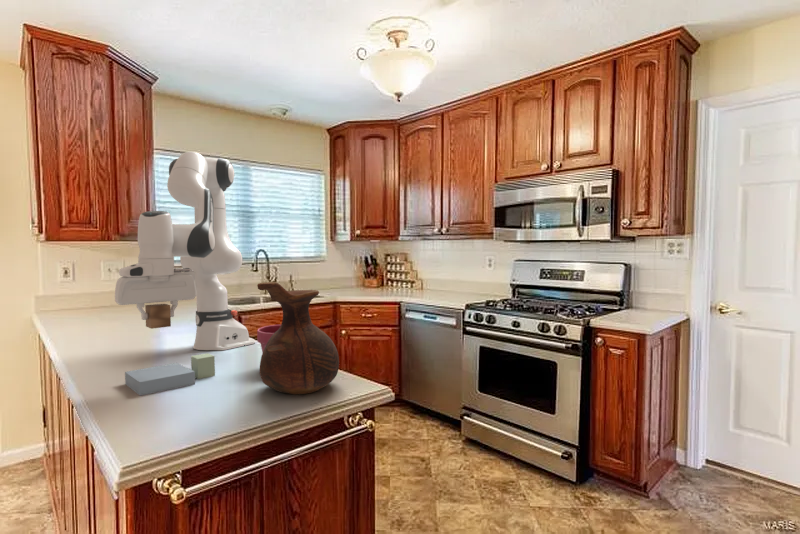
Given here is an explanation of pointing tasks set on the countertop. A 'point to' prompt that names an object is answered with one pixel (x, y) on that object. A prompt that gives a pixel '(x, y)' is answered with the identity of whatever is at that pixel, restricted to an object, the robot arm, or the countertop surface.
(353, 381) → the countertop surface
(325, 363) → the jug
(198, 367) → the sage block
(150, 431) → the countertop surface
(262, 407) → the countertop surface
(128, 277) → the robot arm
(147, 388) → the slate base block
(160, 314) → the walnut block
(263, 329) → the plant pot
